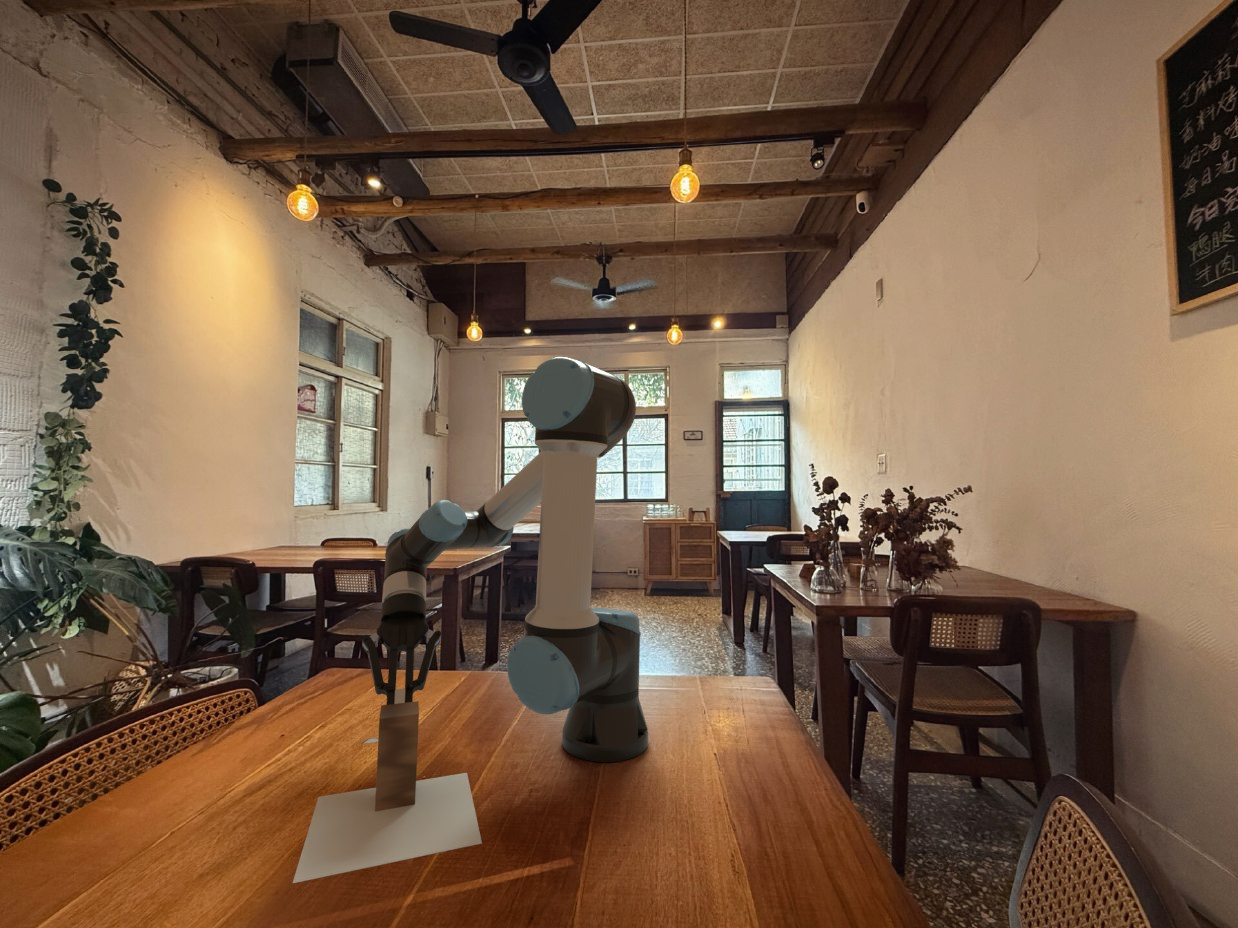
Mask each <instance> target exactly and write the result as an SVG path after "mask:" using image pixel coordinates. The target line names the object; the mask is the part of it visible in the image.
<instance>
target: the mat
mask: <svg viewBox="0 0 1238 928" xmlns="http://www.w3.org/2000/svg"><path fill="white" fill-rule="evenodd" d="M472 795H473V794H472V791H471V786H470V781H469V776H468V772H463V773H458V774H451V775H445V776H444V775H443V776H438V777H432V778H425V779H420V780H416V793H415V805H410V806H404V807H398V808H393V809H387V810H382V811H376V812H375V799H376V787H370V788H365V789H364V788H363V789H359V790H352V791H345V792H339V793H334V794H328V795H323V796H318V797H317V800H316V805H315V807H314V811H313V814H312V817H311V821H310V823H309V824H310V825H309V828H308V831H307V835H306V836H305V837H306V838H305V840H304V843H303V847H302V850H301V855H300V857H299V860H298V864H297V867H296V870H295V874H294V876H293V880H292V884H297V883H298V884H299V883H302V882H307V881H312V880H317V879H321V878H327V877H331V876H336V875H341V874H344V873H349V872H354V871H359V870H364V869H368V868H375V867H378V866H383V865H387V864H391V863H392V864H393V863H396V862H402V861H406V860H410V859H415V858H420V857H424V856H431V855H434V854H435V855H436V854H440V853H445V852H449V851H453V850H458V849H463V848H467V847H471V846H477V845H482V844H483V842H482V837H481V833H480V828H479V822H478V818H477V814H476V809H475V804H474V799H473V796H472Z"/></svg>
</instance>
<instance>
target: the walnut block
mask: <svg viewBox="0 0 1238 928" xmlns="http://www.w3.org/2000/svg"><path fill="white" fill-rule="evenodd" d="M419 709H420V707H419V701H417V700H416V701H413V702H407V703H398V704H390V705H386V704H381V706H380V712H379V720H378V737H377V739H378V742H377V760H376V762H377V763H376V777H375V778H376V783H375V788H376V799H375V812H376V811H382V810H387V809H393V808H398V807H404V806H410V805H415V793H416V781H417V769H418V768H417V766H418V747H419V746H418V745H419V744H418V742H419V720H420V710H419Z"/></svg>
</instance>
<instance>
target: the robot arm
mask: <svg viewBox="0 0 1238 928" xmlns="http://www.w3.org/2000/svg"><path fill="white" fill-rule="evenodd" d="M521 406H522V412H523V415H524V416H525V417H526V418H527V419H526V420H527V421H528V423H529V424H531V425H532V427H534V428H535V429H534V444H535V446H537V448H538V449H539V450H540V452H539V453H538V454H537V455H536V456H534V457H533V458H532V460H530V461H529V462H528V463H527V464H526V465H525V466H524V467H523V468H522V469H520V470H519V471H518V472H517V473H516V474H515V475H514V476H513V477H511V479H510V480H509V481H508V482H506V484H505V485H503V486H502V488H500V489H499V490H498V491H497V492H496V493H494V495H493V496H491V497H490V498H489V499H488V500H487V501H486V502H485V503H484V504H483V505H482V506H480V507H479V508H478V509H477V510H464V509H463V508H462V507H461V506H460V505H458V503H455V502H451V501H450V500H447V499H440V500H437V501H436V502H434V503H433V504H432V505H430V506H429V508H428V509H426V510H425V511H424V512H422V514H421V515H420V516H419V517H418V519H417V520H416V521H415V522H414V523H413V524H412V526H410V528H402V529H400V530H399V531H395V532H393V533H392V534H391V535H390V536H389V538H388V540H387V546H386V548H385V555H384V556H385V557H384V558H385V561H384V579H383V588H382V596H381V597H382V598H381V599H382V600H381V603H382V605H381V611H380V612H381V613H380V623H379V626H378V627H377V628H376V632H374V633H373V634H371V635H368V634H365V635H363V636H362V639H361V640H362V648H363V650H364V652H365V653H366V654H367V656H368V661H369V666H370V671H371V676H372V681H373V685H374V690H375V694H377V695H384V696H386V703H385V705H390V704H398V703H407V702H414V701H413V698H414V697H413V695H414V693H415V692H418V691H422V690H423V689H424V688H425V685H426V682H427V678H428V675H429V671H430V667H431V663H432V661H433V660H432V659H433V656H434V653H435V650H436V649H437V647H438V646H439V645H440V643H441V640H442V638H441V637H442V631H441V630H435V631H434V630H431V629H430V628H429V626H430V625H429V624H428V623H427V612H426V611H427V602H426V601H427V569H428V567H429V566H430V565H431V564H432V563H433V562H434V561H436V559H437V558H438V557H440V555H441V554H442V553H444V552H445V551H453V550H461V549H462V550H463V549H474V548H475V549H476V548H494V547H496V546H497V547H498V546H503V545H506V543H508V542H509V541H510V540H511V538H512V536H513V535H512V534H513V533H514V530H515V529H514V528H515V527H514V526H516V525H517V524H519V522H520V521H522V520H523V519H524V518H525V517H526V516H528V515H529V514H530V513H531V512H533V510H534V509H535V508H536V507H538V506H539V505H540V517H539V518H540V520H539V521H540V522H539V534H538V535H539V538H538V539H539V540H538V555H537V556H538V558H537V573H536V574H537V575H536V576H537V579H536V594H535V596H536V597H535V606H534V608H532V609H531V610H530V611H529V612H528V613H527V614H526V615H525V618H524V630H523V631H524V633H523V634H524V635H523V637H520V638H519V639H518V640H517V641H516V642H515V644H514V645H513V646H512V647H511V649H510V650H509V653H508V657H507V662H506V670H507V676H508V681H509V684H510V687H511V689H512V691H513V692H514V694H516V695H517V697H518V700H519V701H520V702H521V704H523V706H525V707H526V708H527V709H529V710H530V711H532V712H534V713H537V714H540V715H553V714H557V713H558V712H561V711H566V710H568V712H567V715H566V717H565V721H564V723H563V727H562V731H561V733H562V735H561V737H562V738H561V744H562V747H563V749H564V751H566V752H567V753H568V754H570V755H571V756H573V757H576V758H577V759H581V760H584V761H589V762H597V763H614V762H622V761H627V760H630V759H633V758H635V757H638V756H640V755H641V754H642V753H644V752H645V751H646V749H647V748H648V746H649V728H648V725H647V722H646V718H645V714H644V711H643V707H642V705H641V701H640V693H639V692H640V690H639V689H640V651H641V650H640V649H641V648H640V647H641V643H640V642H641V635H642V634H641V630H640V617H639V616H638V615H637V614H636V613H634V612H632V611H627V610H625V609H624V610H623V609H618V608H617V609H616V608H607V607H606V608H605V607H593V606H592V607H591V601H592V599H591V598H592V596H591V594H592V579H593V578H592V577H593V576H592V575H593V557H594V536H595V535H594V534H595V533H594V532H595V518H596V517H595V516H596V514H595V513H596V511H595V510H596V495H597V493H596V492H597V474H598V473H597V471H598V459H601V458H603V457H604V456H605V455H606V454H608V453H609V451H611V450H613V448H614V447H616V445H618V444H619V443H620V442H621V441H622V440H623V438H624V437H625V436H626V435H627V434H628V432H629V431H630V429H631V428H632V427H633V423H634V421H635V417H636V411H637V403H636V399H635V395H634V393H633V391H632V389H631V387H630V386H629V385H628V384H627V382H625V381H624V380H623V379H622V378H620V377H619V376H617V375H615V374H613V373H609V372H606V371H604V370H602V369H599V368H597V367H594V366H592V365H589V363H588V364H587V363H586V362H585V361H584V360H580V359H573V358H570V357H564V356H557V357H552V358H549V359H547V360H545V361H543V362H542V363H540V364H539V365H538V366H537V367H536V369H535V371H533V372H532V373H531V374H529V376H528V379H526V382H525V384H524V387H523V391H522V396H521ZM424 639H426V640H425V641H426V643H425V644H427V645H426V648H425V650H424V653H423V658H422V660H421V661H422V662H421V665H420V668H419V673H418V676H417V678H416V679H414V669H415V668H414V667H415V666H414V664H415V663H414V660H415V649H416V648H418V646H419V645H420V644H421V643H422V642H423V640H424ZM379 641H380V642H381V644H382V645H383V646H384V648H385V649H387V651H389V658H388V659H389V661H388V673H387V674H388V676H387V682H385V681H384V678H383V673H382V669H381V668H382V667H381V663H380V658H379V654H378V649H377V648H378V645H379V644H378V643H379ZM399 652H405V674H404V675H405V677H404V678H405V679H404V688H398V689H397V673H398V671H397V670H398V657H399V655H398V653H399ZM644 750H645V751H644Z"/></svg>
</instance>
